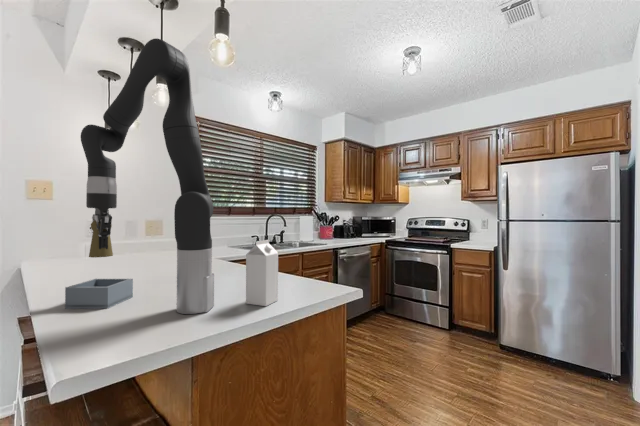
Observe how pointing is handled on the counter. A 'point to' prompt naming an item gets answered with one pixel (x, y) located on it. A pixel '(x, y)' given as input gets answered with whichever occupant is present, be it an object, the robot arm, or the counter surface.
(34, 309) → the counter surface
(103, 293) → the crate
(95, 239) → the cork
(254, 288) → the milk carton
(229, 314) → the counter surface
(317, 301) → the counter surface
